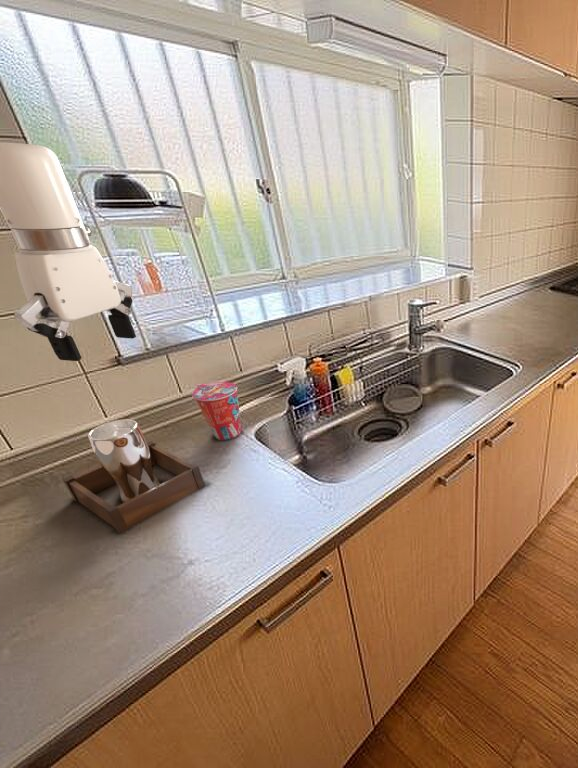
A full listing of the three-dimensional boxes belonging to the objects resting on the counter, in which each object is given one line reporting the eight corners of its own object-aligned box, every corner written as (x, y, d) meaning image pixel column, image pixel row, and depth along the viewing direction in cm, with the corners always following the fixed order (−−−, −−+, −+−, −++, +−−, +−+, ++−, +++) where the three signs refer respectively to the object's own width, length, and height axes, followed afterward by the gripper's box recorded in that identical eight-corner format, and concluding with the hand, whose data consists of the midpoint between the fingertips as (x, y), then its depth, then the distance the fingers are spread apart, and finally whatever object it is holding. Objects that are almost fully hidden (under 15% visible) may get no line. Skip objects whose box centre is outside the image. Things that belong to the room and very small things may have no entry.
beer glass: (162, 477, 85) (135, 414, 78) (168, 495, 80) (141, 430, 74) (116, 493, 80) (84, 427, 73) (121, 513, 76) (87, 445, 69)
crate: (75, 502, 78) (62, 479, 75) (160, 461, 89) (151, 440, 86) (121, 535, 72) (109, 511, 69) (206, 487, 83) (198, 465, 80)
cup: (256, 426, 103) (245, 382, 97) (236, 446, 95) (222, 400, 89) (218, 424, 102) (204, 380, 97) (194, 444, 95) (178, 398, 89)
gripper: (87, 230, 69) (125, 328, 77) (-44, 247, 54) (20, 368, 62) (130, 233, 69) (164, 331, 77) (11, 251, 53) (69, 372, 61)
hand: (100, 347), depth 69 cm, fingers open, 9 cm apart
